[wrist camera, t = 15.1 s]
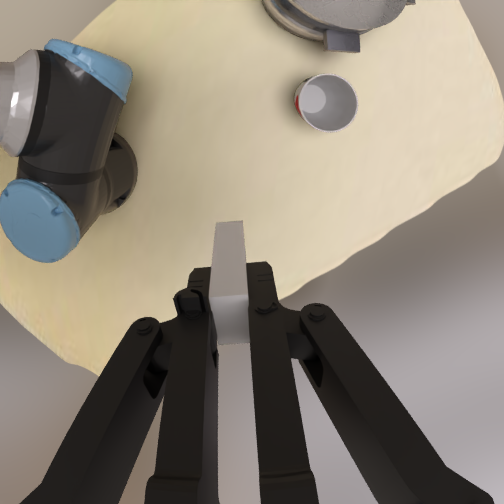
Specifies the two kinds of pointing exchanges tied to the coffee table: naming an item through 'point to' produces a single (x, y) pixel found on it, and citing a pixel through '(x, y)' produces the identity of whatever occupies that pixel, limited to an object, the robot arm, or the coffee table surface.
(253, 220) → the coffee table surface
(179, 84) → the coffee table surface
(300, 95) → the cup
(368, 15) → the lid
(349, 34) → the cooker
